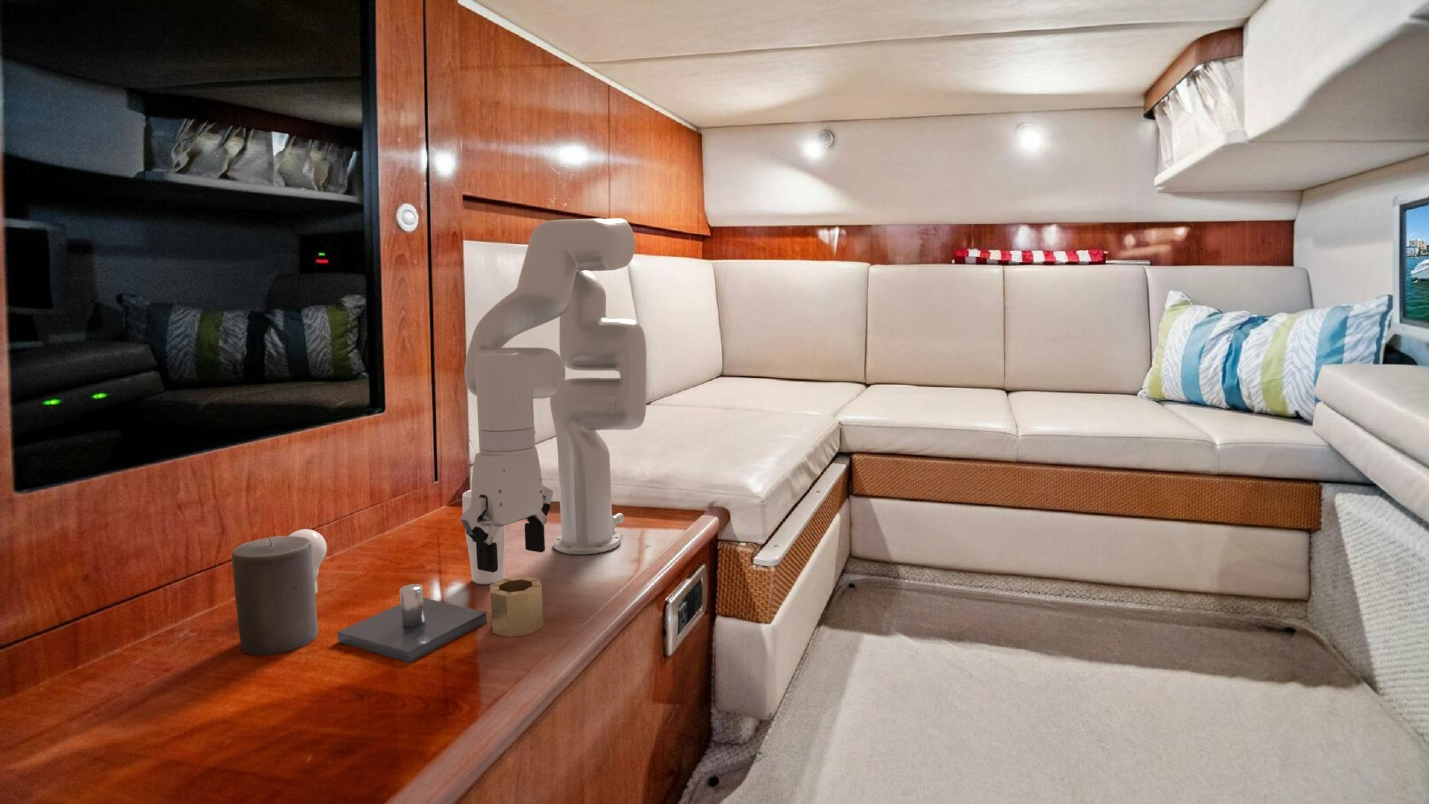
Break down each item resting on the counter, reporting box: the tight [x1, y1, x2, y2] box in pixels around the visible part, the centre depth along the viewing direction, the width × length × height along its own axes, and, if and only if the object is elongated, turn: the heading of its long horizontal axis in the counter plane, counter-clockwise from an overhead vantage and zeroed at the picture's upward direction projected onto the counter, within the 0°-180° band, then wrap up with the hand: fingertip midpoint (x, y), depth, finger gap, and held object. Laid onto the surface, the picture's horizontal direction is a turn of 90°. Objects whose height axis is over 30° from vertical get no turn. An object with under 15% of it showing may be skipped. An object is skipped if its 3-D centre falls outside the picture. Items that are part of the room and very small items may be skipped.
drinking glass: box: [461, 489, 507, 585], centre depth 131 cm, size 7×7×15 cm
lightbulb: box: [288, 528, 328, 595], centre depth 125 cm, size 6×6×11 cm
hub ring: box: [489, 575, 544, 638], centre depth 113 cm, size 7×7×6 cm
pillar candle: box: [231, 535, 319, 656], centre depth 109 cm, size 10×10×15 cm
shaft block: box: [337, 583, 488, 663], centre depth 112 cm, size 14×14×6 cm
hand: (512, 560), depth 111 cm, fingers open, 9 cm apart
